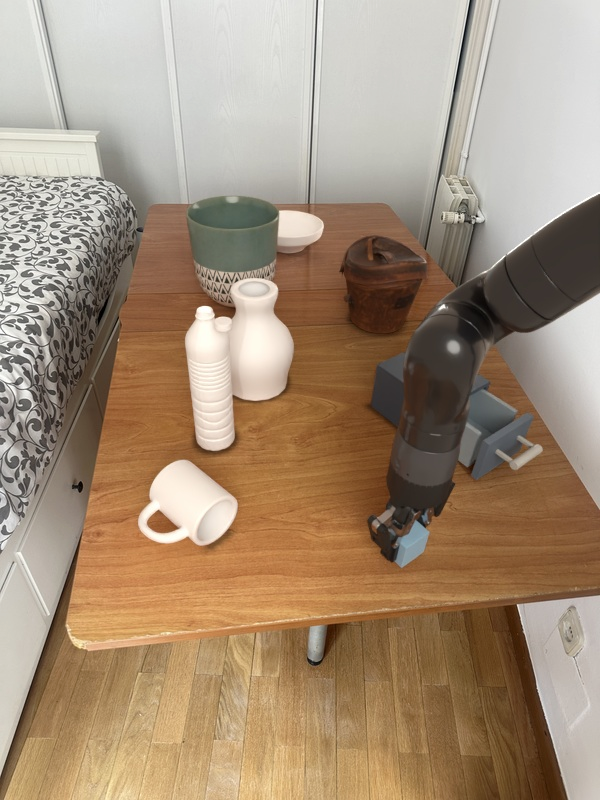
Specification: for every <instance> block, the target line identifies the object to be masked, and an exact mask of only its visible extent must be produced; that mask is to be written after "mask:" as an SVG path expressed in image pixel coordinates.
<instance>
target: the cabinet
mask: <svg viewBox="0 0 600 800" xmlns="http://www.w3.org/2000/svg"><path fill="white" fill-rule="evenodd" d="M405 354H406V351H404V352H401V353H399V354H397V355H395V356H393V357H390V358H388V359H386V360H383V361H381V362H379V363H377V364H376V370H375V375H374V383H373V388H372V394H371V401H370V407H371V408H372V409H374V410H375V411H376V412H377V413H379V414H380V415H381V416H383V418H385V419H386V420H388V421H389V422H390V423H392V424H393V425H394V426H395V427H397V428H398V426H399V421H400V416H401V410H402V406H403V402H404V398H405V396H404V384H403V365H404V358H405ZM491 382H492V381H490V379H487V378H486V377H484V376H483V375H481V374H479V373H478V374H477V377H476V379H475V382H474V384H473V387H472V390H471V393H470V396H471V395H473V394H474V393H476V392H478V391H480V390H482V389H484V390H486V391H488V390H489V388H490V385H491ZM488 392H489V391H488Z"/></svg>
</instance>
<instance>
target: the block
mask: <svg viewBox="0 0 600 800" xmlns="http://www.w3.org/2000/svg"><path fill="white" fill-rule="evenodd" d="M403 526H404V525H403ZM390 532H391V533H392V534H393V535H394V536H395V535H396V533H395V532H394V531H393V530H392V529H391V531H390ZM429 535H430V531H429V530H428V529H427V527H426V528H424V527H423V526H422V525H421V524H420V523H419V522H418V521H417V520H415V522H414V524H413V526H412V528H411V530H410V532H409V534H408V535H406V536H403V538H402V540H401V542H400V544H399V545H400V546H399V550H398V554H397V559H396V560H395V561H394V562H395V563H396V564H397V566H398V567H400V568H401V569H403V568H404V567H405V566H407V565H408V564H409V563H411V562H412V561H413V560H416V558H417V557H419V556H420V555H421V554H423V553H425V550H426V546H427V544H428V543H427V542H428V539H429Z"/></svg>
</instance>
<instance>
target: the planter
mask: <svg viewBox="0 0 600 800" xmlns="http://www.w3.org/2000/svg"><path fill="white" fill-rule="evenodd" d="M279 211H280V209H279V208H278V207H277V206H276V205H275V204H273V203H272V202H270V201H267V200H264V199H262V198H258V197H253V196H247V195H219V196H213V197H208V198H204V199H200V200H198V201H196V202H194V203H192V204H190V205H189V206H188V207H187V208H186V211H185V217H186V225H187V230H188V231H187V232H188V237H189V244H190V251H191V257H192V262H193V269H194V272H195V273H194V274H195V276H196V279H197V282H198V284H199V286H200V287H201V289H202V291H203V292H204V294H206V296H208V298H210V299H211V300H212V301H213V302H215V303H218V304H219V305H221V306H223V307H229V308H236V307H235V304H234V302H233V299H232V296H231V287H232V285H233V284H234V283H236V282H237V281H239V280H243V279H247V278H261V279H266V280H269V281H272V282H273V283H274V278H275V275H276V269H277V260H278V259H277V258H278V251H277V246H278V231H279V215H280V213H279Z"/></svg>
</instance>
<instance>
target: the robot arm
mask: <svg viewBox="0 0 600 800" xmlns="http://www.w3.org/2000/svg"><path fill="white" fill-rule="evenodd" d="M599 294H600V191H599V192H597V193H595V194H593V195H591V196H589V197H587V198H585V199H584V200H582V201H580V202H578V203H577V204H575V205H573V206H571V207H570V208H568V209H566V210H565V211H563V212H562V213H560V214H559V215H557V216H555V217H554V218H553V219H551V220H550V221H548V222H547V223H546V224H544V225H543V226H542V227H540V228H539V229H537V230H536V231H535V232H534V233H532V234H531V235H530V236H528V237H527V238H526V239H524V240H523V241H521V243H519V244H518V245H517V246H516V247H514V248H513V249H512V250H510V251H509V252H508V253H506V254H505V255H504V256H503V257H501V258H500V259H499V260H498V261H497V262H496V263H494V265H492V267H490V268H489V269H487V270H484V271H483V272H481V273H479V274H478V275H476V276H474V277H472V278H471V279H469V280H467V281H465V282H464V283H462V284H461V285H458V286H457V287H456V288H455V289H453V290H452V291H450V292H449V293H447V294H446V295H445V296H443V297H442V298H441V299H440V300H438V301H437V303H435V304H434V305H433V307H431V308H430V310H429V311H428V313H426V315H425V317H424V318H423V319H422V321H421V322H420V323H419V325H418V326H417V327H416V329H415V330H414V332H413V333H412V334H411V336H410V339H409V340H408V343H407V345H406V350H405V352H406V354H405V358H404V365H403V384H404V396H405V398H404V402H403V406H402V410H401V416H400V421H399V426H398V427H397V430H396V432H395V434H394V438H393V442H392V447H391V452H390V457H389V462H388V466H387V467H388V468H387V473H386V479H385V480H386V481H385V482H386V483H385V484H386V487H387V491H388V494H389V498H388V501H387V502H386V504H385V508H384V510H385V511H384V512H383V513H382V514H380V515H379V516H376V515H375V514H371V515H370V516H369V517H368V518H367V520H366V524H367V528H368V532H369V536H370V540H371V541H372V542H373V543H374V544H375V545H376V546H377V547H378V548H379V549H380V554H381V556H382V557H383V558H384V559H385V560H386V561H387V562H390V563H394V562H395V560H396V559H397V554H398V550H399V546H400V545H399V544H400V542H401V540H402V538H403V536H406V535H408V534H409V532H410V530H411V528H412V526H413V524H414V522H415V520H417V521H418V522H419V523H420V524H421V525H422V526H423V527H424V528H426V529H427V527H429V526H430V525H431V524H432V521H433V519H432V518H433V517H435V518H438V517H439V516H440V515H441V514H442V512H443V509H444V508H445V506H446V505H447V502H448V500H449V498H450V496H451V494H452V492H453V490H454V488H455V486H456V482H455V481H453V478H454V474H455V471H456V468H457V465H458V462H459V461H458V458H459V454H460V446H461V440H462V436H463V433H464V430H465V426H466V423H467V420H468V415H469V410H470V401H469V396H470V393H471V390H472V387H473V384H474V382H475V379H476V377H477V374H479V372H480V369H481V367H482V365H483V362H484V361H485V359H486V357H487V355H488V353H489V351H490V350H491V348H492V347H494V346H495V345H496V344H497V343H498V342H500V341H502V340H503V339H504V338H506V337H508V336H510V335H512V334H513V333H518V334H519V333H520V334H530V333H533V332H536V331H539V330H540V329H542V328H545V327H547V326H548V325H550V324H553V323H554V322H555V321H556V320H558V319H560V318H561V317H563V316H565V315H567V314H568V313H570V312H572V311H573V310H574V309H576V308H578V307H579V306H581V305H583V304H585V303H587V302H588V301H590V300H591V299H593V298H595V297H596V296H598V295H599ZM403 525H404V526H403ZM391 529H392V530H393V531H394V532H395V533H396V535H395V536H394V535H393V534H392V533H391V532H390V531H391Z"/></svg>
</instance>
